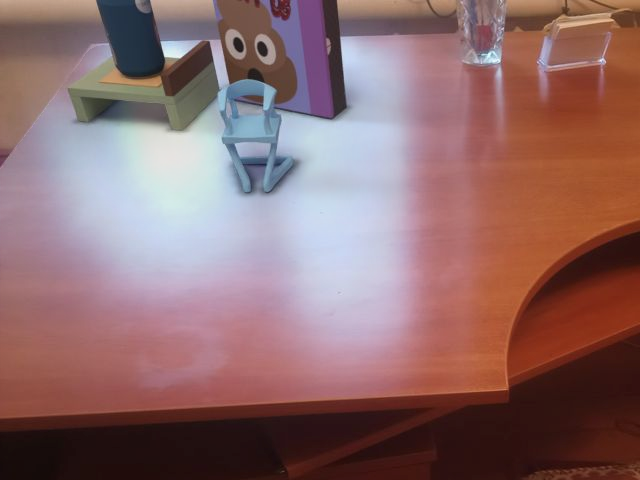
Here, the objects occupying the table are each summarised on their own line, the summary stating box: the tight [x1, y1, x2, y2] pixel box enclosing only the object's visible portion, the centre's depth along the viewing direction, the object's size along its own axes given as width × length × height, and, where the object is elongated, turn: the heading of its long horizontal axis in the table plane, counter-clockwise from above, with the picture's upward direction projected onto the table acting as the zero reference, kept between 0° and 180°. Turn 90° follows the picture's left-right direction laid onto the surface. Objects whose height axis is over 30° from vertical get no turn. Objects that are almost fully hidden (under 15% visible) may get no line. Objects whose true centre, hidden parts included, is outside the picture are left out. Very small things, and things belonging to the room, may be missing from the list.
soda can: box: [95, 0, 166, 79], centre depth 103 cm, size 7×7×12 cm
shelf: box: [66, 39, 221, 131], centre depth 108 cm, size 16×14×8 cm
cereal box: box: [212, 0, 347, 120], centre depth 104 cm, size 17×5×24 cm, turn 69°
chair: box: [217, 79, 294, 193], centre depth 91 cm, size 8×8×12 cm
